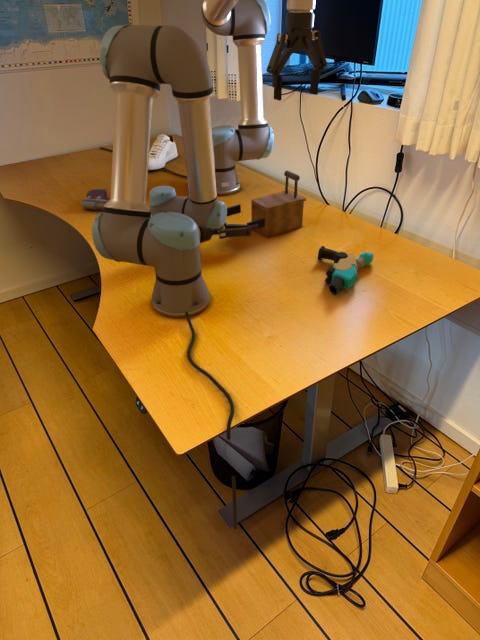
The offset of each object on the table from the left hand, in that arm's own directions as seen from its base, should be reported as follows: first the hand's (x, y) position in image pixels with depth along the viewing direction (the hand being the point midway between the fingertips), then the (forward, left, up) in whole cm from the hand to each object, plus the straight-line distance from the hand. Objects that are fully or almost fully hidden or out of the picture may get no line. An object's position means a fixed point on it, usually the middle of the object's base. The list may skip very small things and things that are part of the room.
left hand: (251, 215), depth 155 cm
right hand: (+8, -13, +34) cm, 37 cm away
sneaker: (+69, +47, -6) cm, 83 cm away
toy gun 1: (+20, +55, -6) cm, 59 cm away
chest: (+4, -8, -6) cm, 11 cm away
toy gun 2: (-27, -26, -6) cm, 38 cm away
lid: (+5, -9, +3) cm, 10 cm away
